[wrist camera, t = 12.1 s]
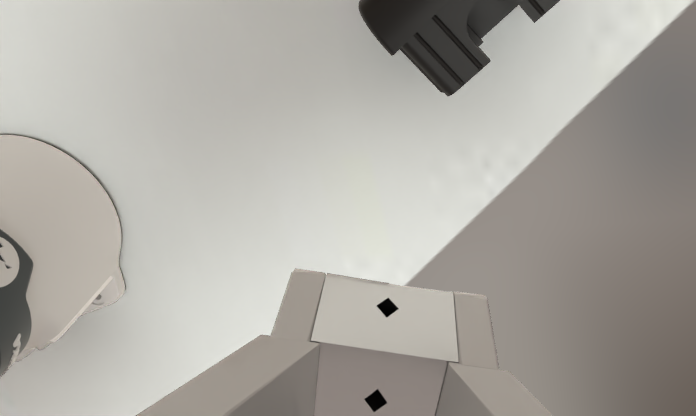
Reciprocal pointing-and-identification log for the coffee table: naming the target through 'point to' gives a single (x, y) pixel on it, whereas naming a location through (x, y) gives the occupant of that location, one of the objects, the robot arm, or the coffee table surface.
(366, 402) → the robot arm
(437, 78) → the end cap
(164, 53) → the coffee table surface
